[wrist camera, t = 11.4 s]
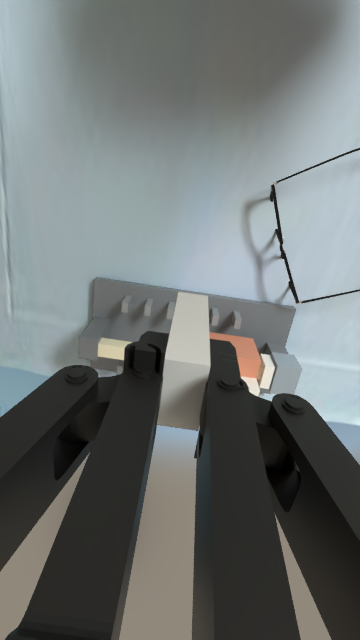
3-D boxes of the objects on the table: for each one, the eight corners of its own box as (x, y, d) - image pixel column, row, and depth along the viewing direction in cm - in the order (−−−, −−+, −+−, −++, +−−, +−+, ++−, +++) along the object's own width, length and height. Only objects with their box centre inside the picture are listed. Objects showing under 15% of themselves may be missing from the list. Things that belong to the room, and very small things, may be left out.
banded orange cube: (201, 370, 46) (202, 407, 39) (208, 331, 44) (211, 363, 36) (243, 376, 46) (253, 415, 39) (253, 338, 44) (265, 371, 36)
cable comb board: (92, 363, 51) (75, 393, 44) (96, 277, 46) (77, 295, 39) (269, 389, 52) (281, 423, 44) (293, 306, 46) (311, 329, 39)
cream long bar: (90, 352, 45) (81, 365, 41) (91, 325, 43) (82, 337, 40) (286, 380, 45) (293, 396, 42) (294, 355, 44) (302, 369, 40)
